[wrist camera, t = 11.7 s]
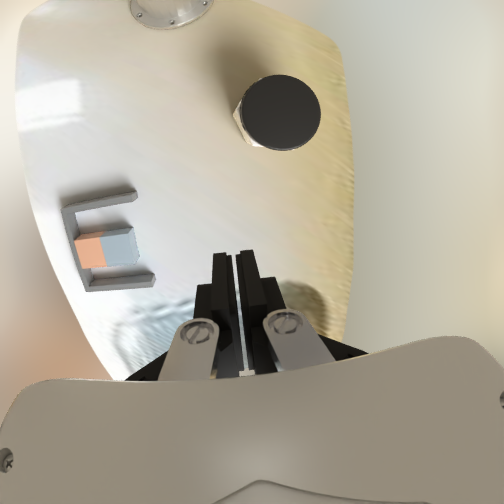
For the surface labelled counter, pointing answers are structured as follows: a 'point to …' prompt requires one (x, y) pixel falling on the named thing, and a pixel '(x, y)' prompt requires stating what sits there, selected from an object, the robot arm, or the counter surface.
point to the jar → (278, 113)
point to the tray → (73, 234)
